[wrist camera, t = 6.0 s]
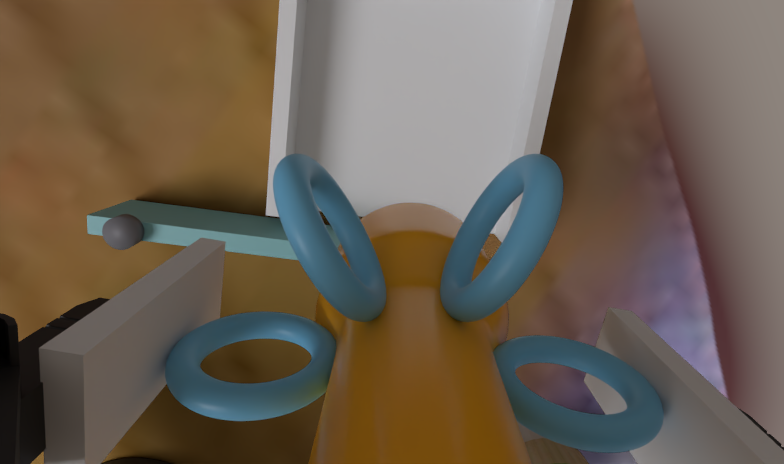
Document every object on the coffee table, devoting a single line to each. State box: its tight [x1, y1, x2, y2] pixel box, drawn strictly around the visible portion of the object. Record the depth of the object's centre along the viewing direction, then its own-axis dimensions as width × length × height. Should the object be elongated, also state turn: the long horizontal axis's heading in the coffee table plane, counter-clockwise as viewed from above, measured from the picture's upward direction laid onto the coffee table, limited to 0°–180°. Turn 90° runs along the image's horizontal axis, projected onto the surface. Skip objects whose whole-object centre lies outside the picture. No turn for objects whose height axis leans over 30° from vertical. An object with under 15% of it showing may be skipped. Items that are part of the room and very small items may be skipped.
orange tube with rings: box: [165, 154, 664, 464], centre depth 11 cm, size 12×10×15 cm
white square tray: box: [266, 0, 573, 242], centre depth 30 cm, size 17×21×4 cm
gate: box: [87, 200, 340, 260], centre depth 31 cm, size 18×2×6 cm, turn 82°
